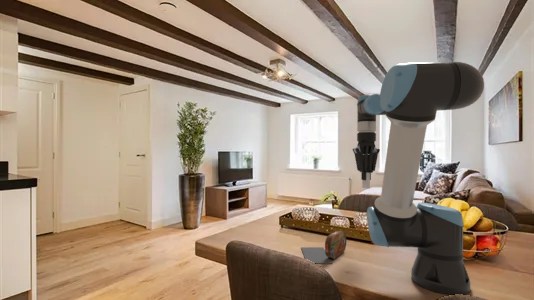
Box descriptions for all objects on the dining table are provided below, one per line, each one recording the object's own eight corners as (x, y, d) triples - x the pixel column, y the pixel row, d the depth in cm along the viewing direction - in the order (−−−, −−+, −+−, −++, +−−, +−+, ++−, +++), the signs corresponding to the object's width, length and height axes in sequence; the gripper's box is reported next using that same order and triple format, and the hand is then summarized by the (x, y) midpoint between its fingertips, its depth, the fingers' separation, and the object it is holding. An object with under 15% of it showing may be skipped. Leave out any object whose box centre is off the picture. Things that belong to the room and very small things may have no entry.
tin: (330, 261, 100) (331, 238, 100) (322, 259, 102) (323, 236, 102) (346, 250, 112) (347, 229, 112) (339, 248, 114) (340, 228, 114)
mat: (332, 263, 99) (332, 263, 99) (307, 263, 99) (307, 263, 99) (323, 248, 115) (323, 247, 115) (301, 248, 115) (301, 247, 115)
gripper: (371, 133, 125) (371, 186, 125) (348, 132, 120) (347, 187, 119) (385, 132, 118) (384, 188, 118) (360, 130, 113) (360, 189, 113)
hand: (366, 187), depth 119 cm, fingers closed
